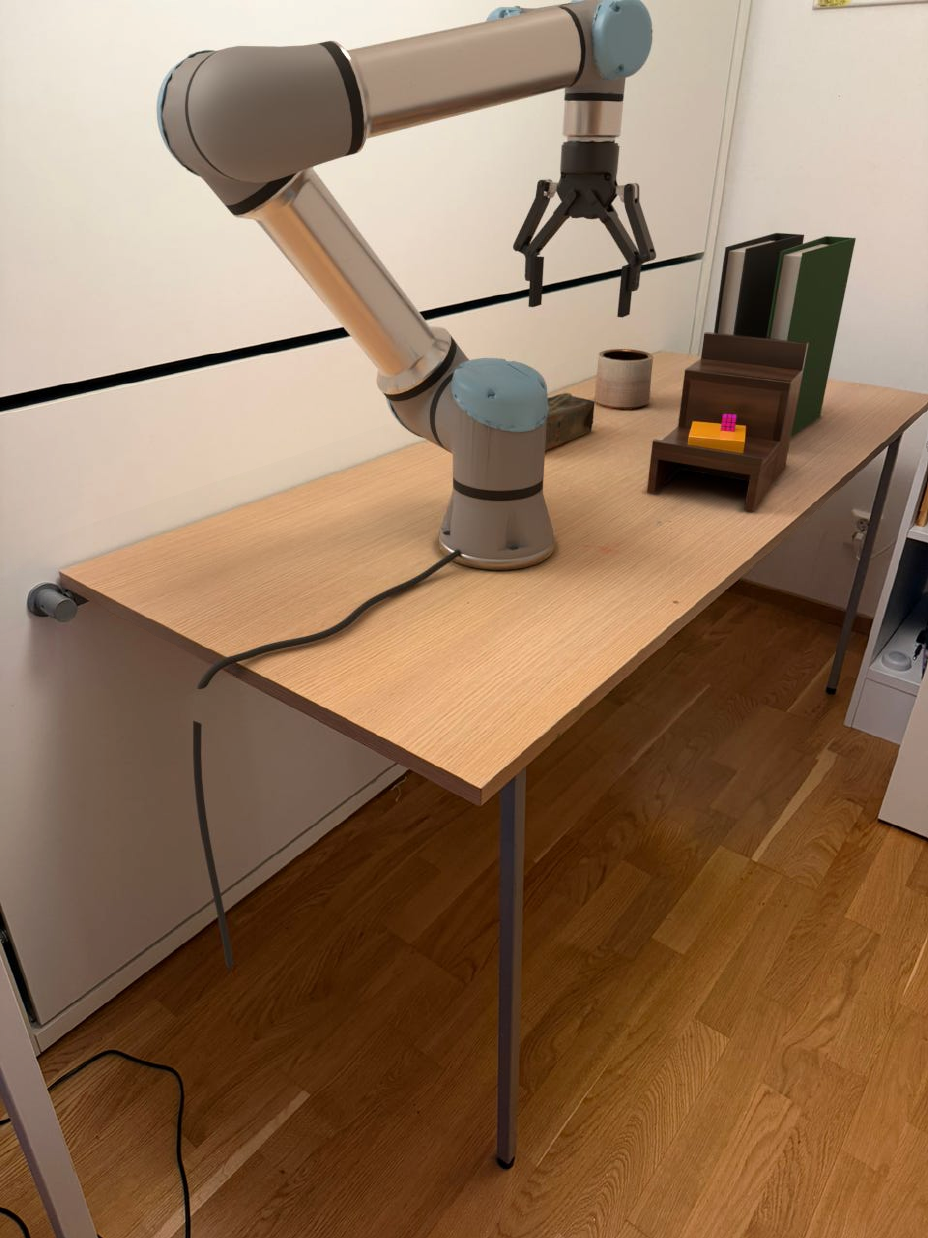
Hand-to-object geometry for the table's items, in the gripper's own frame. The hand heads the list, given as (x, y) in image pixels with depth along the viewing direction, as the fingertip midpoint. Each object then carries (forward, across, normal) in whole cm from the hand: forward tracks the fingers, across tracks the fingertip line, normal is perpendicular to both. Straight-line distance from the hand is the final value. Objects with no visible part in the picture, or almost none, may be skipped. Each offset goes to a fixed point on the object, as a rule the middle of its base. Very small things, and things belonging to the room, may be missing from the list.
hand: (578, 310), depth 126 cm
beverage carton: (+26, +13, -20) cm, 35 cm away
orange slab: (+19, -20, -11) cm, 29 cm away
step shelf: (+26, -20, -16) cm, 36 cm away
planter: (+26, +10, -50) cm, 57 cm away
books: (+26, -18, -47) cm, 57 cm away
